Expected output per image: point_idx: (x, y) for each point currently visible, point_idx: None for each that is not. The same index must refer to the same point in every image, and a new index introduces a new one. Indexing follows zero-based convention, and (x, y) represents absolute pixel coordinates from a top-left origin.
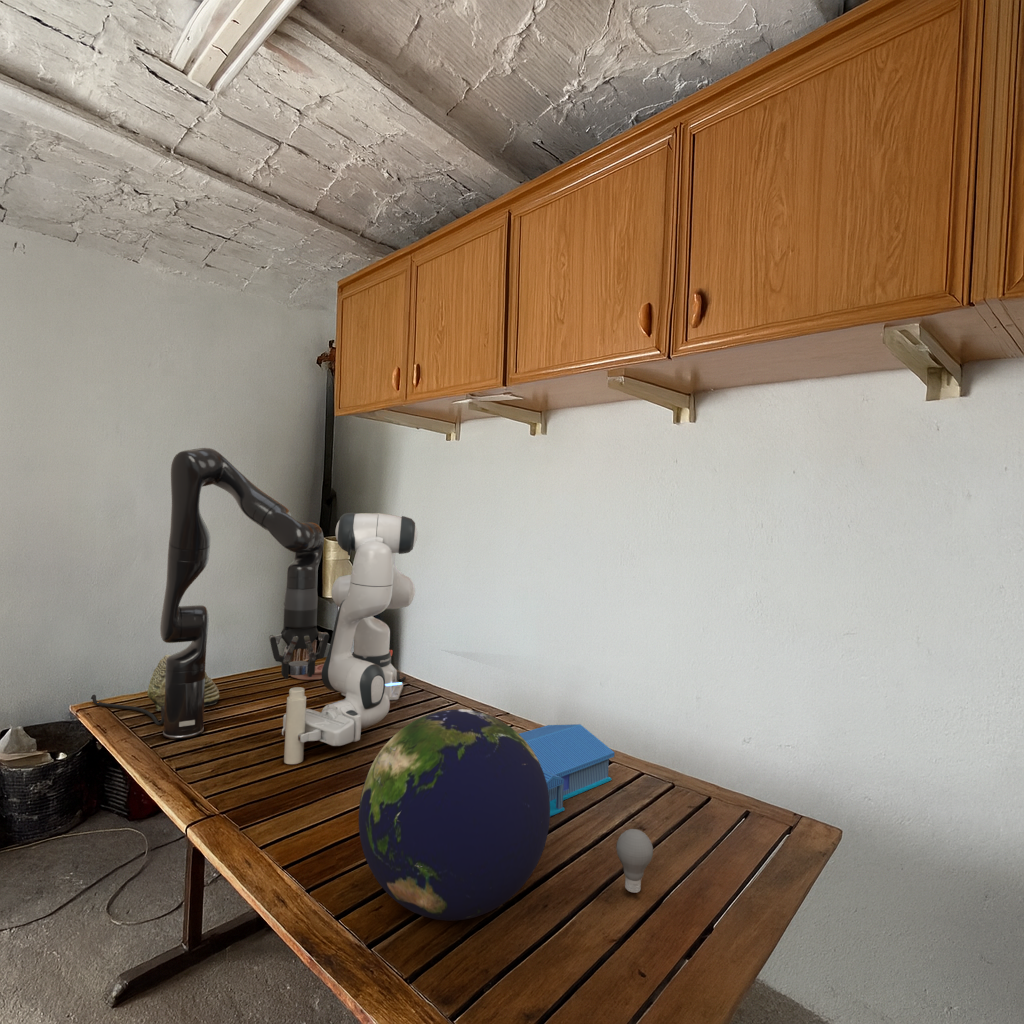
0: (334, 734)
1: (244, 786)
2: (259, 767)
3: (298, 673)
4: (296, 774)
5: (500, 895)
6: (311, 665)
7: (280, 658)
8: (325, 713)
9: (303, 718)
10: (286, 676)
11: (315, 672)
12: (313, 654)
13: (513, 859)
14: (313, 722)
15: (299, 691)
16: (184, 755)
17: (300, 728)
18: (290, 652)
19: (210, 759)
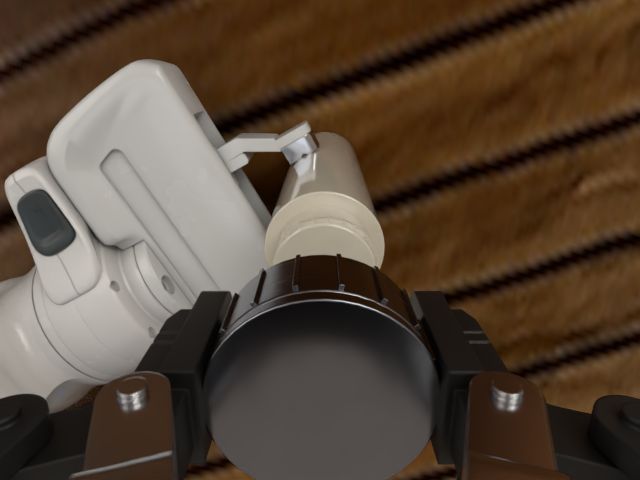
0: (159, 63)
1: (519, 4)
2: (439, 151)
3: (337, 259)
4: (335, 39)
5: None
6: (181, 344)
7: (587, 442)
8: (174, 291)
9: (291, 177)
10: (434, 298)
11: None
12: (104, 441)
13: None
14: (238, 225)
15: (316, 222)
16: (620, 326)
17: (307, 157)
18: (503, 476)
19: (562, 271)
